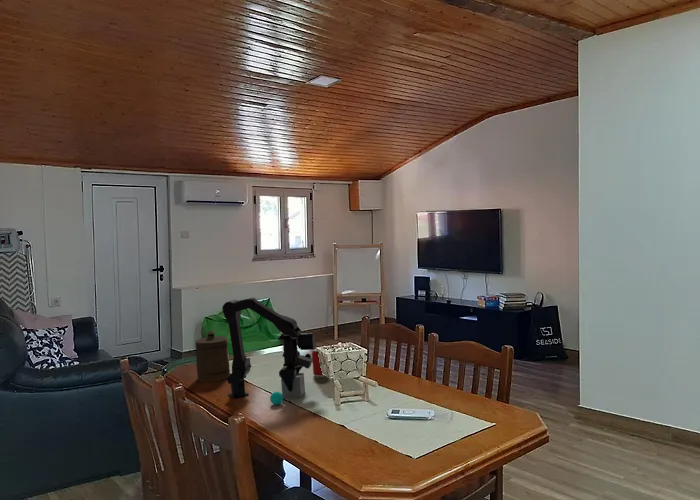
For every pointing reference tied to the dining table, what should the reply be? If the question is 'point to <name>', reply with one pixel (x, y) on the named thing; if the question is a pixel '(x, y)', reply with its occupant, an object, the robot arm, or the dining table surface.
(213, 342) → the wooden container
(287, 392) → the dark grey block
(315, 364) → the beverage can
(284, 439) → the dining table surface
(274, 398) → the ball
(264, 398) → the dining table surface
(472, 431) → the dining table surface
